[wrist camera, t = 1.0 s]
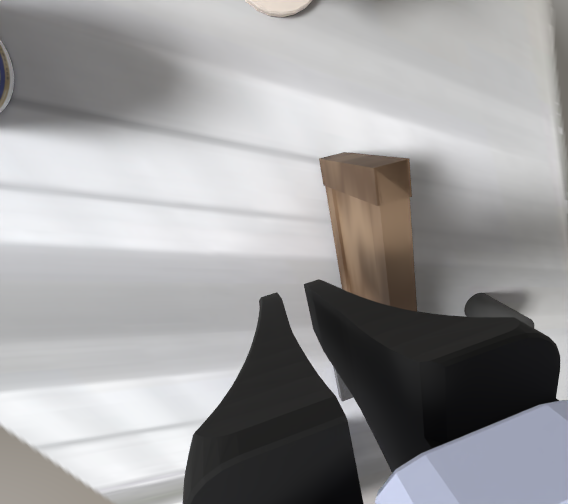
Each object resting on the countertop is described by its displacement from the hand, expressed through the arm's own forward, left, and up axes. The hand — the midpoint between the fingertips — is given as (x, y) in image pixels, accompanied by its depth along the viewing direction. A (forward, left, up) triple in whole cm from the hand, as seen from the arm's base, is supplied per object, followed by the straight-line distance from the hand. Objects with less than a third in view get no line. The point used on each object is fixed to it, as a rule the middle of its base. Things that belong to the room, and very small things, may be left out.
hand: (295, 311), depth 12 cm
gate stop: (-11, -16, -9) cm, 22 cm away
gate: (-3, -5, -9) cm, 11 cm away
